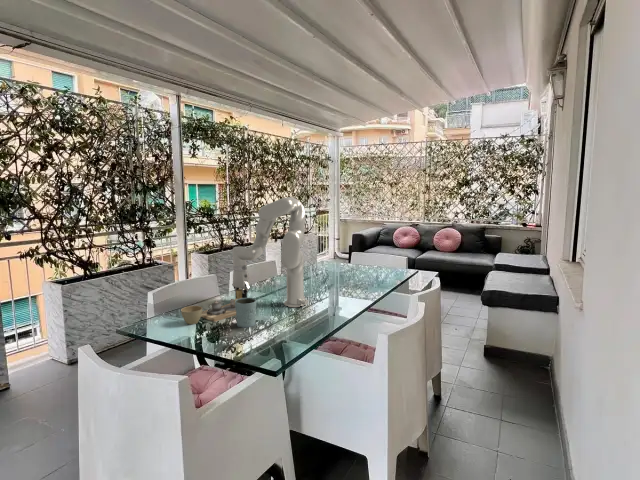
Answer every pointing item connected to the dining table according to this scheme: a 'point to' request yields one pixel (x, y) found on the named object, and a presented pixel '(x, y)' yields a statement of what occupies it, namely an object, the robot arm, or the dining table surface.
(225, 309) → the gear board
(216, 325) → the dining table surface
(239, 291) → the brass gear
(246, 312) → the grey cup
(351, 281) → the dining table surface
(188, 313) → the flower pot
